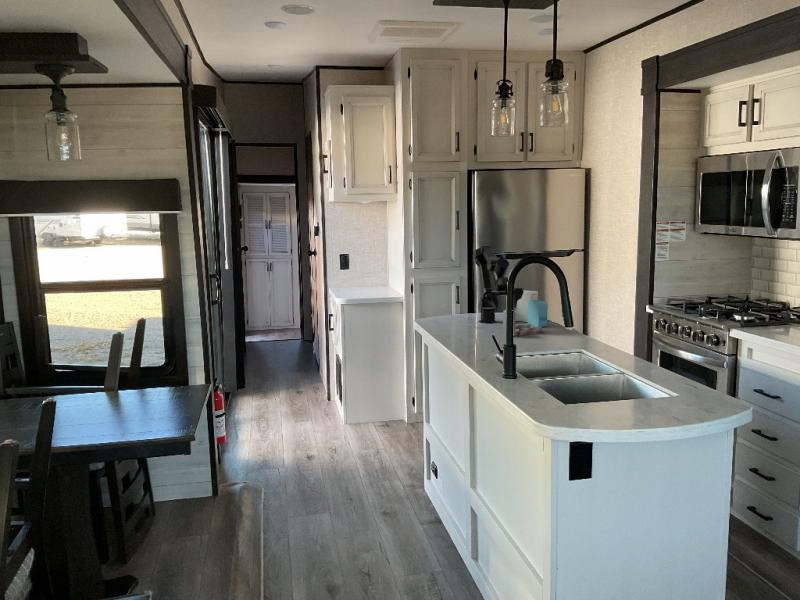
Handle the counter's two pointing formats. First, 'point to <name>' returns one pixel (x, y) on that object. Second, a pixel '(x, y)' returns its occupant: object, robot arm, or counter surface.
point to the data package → (537, 313)
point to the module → (505, 323)
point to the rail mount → (527, 329)
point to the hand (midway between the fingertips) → (506, 308)
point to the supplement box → (524, 305)
